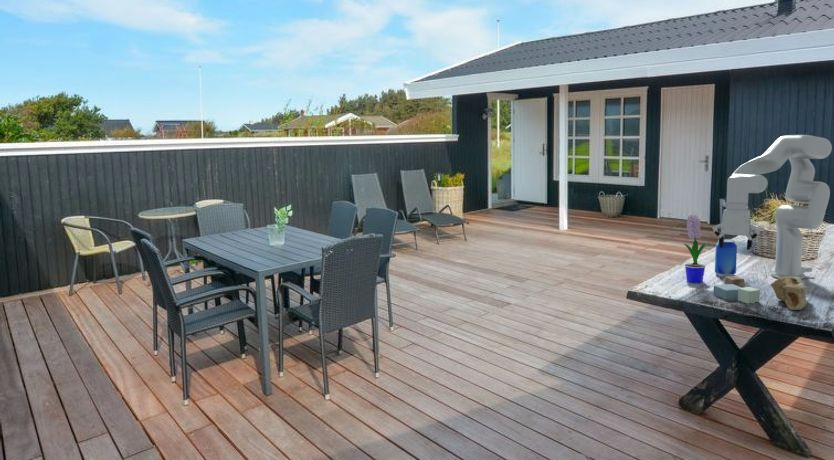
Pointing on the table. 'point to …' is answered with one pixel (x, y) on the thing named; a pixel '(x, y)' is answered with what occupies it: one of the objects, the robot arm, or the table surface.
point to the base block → (726, 291)
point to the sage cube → (748, 295)
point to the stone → (791, 292)
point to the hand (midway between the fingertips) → (735, 248)
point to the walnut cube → (735, 281)
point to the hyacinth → (694, 251)
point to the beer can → (726, 258)
